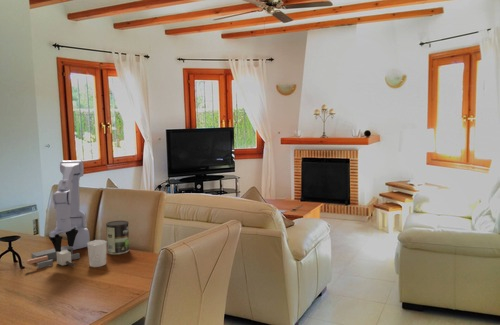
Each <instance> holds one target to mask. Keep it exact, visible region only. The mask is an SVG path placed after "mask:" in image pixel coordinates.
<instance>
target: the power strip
mask: <svg viewBox="0 0 500 325" xmlns="http://www.w3.org/2000/svg"><path fill="white" fill-rule="evenodd" d="M63 250H68V251H69V252H71V261H73V260H78V259H81V253H80V252H76V253H74V250H73V248H72V247H69V246H68V244H67V245H61V251H63ZM30 254H31V255H30V257H31V259H34V258H39V257H43V256H48V260H44V261H40V262H36V263H35V264H36V265H37V267H36V268H37V269H38V270H39V269H42V268H47V267H51V266H54V261H55V260H57V254H56V251H55V248H54V247H53V248H51V249H49V248H48V249H45V250H41V251H36V252H32V253H30Z"/></svg>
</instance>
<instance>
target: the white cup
mask: <svg viewBox="0 0 500 325" xmlns="http://www.w3.org/2000/svg"><path fill="white" fill-rule="evenodd" d="M87 246H88V247H87V255H88V262H89V264H88V265H89V266H90V267H91V268H101V267H103V266H106V264H107V240H105V239H94V240H90V242H88V243H87Z"/></svg>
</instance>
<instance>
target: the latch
mask: <svg viewBox="0 0 500 325" xmlns="http://www.w3.org/2000/svg"><path fill="white" fill-rule="evenodd" d="M44 260H48V256H43V257H39V258H34V259H32V258H31V259H30V258H29V259H27V260H26V264H27V265H31V264H36V262H40V261H44Z"/></svg>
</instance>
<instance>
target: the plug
mask: <svg viewBox="0 0 500 325" xmlns="http://www.w3.org/2000/svg"><path fill="white" fill-rule="evenodd" d="M56 254H57V259H56V264H58V265H60V266H66V265H68V266H71V267H75V266H76V264H74V263H72V260H71V252H69V251H68V250H63V251H61V252H56Z"/></svg>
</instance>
